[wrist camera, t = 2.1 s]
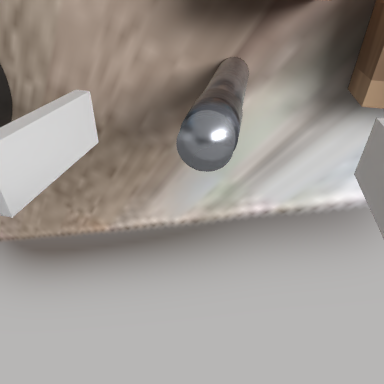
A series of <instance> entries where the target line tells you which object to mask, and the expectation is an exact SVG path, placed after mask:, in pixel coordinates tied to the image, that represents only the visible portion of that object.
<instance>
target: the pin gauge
mask: <svg viewBox="0 0 384 384" xmlns="http://www.w3.org/2000/svg"><path fill="white" fill-rule="evenodd" d="M248 76H249V69H248V66H247V64H246V63H245V61H243V60H242V59H241V58H238V57H230V58H227V59H225V60H224V61H223V62H222V63H221V64H220V66H219V68H218V69H217V71H216V72H215V74H214V76H213V77H212V79H211V81H210V82H209V84H208V86H207V87H206V89H205V91H204V92H203V93H202V94H201V95H200V96H199V97H198V98H197V100H196V101H195V103H194V105H193V106H192V108H191V109H190V111H189V113H188V114H187V116H186V117H185V119H184V121H183V122H182V125H181V128H180V132H179V134H178V136H177V150H178V153H179V155H180V157H181V158H182V160H183V161H184V162H185V163H186V164H187V165H189V166H190V167H192V168H194V169H196V170H199V171H206V172H207V171H215V170H218V169H220V168H222V167H223V166H225V165H226V164H227V163H228V162H229V160H230V159H231V157H232V154H233V151H234V150H235V148H236V145H237V141H238V136H239V131H240V126H241V120H242V106H243V101H244V96H245V91H246V86H247V81H248Z"/></svg>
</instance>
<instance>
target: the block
mask: <svg viewBox="0 0 384 384" xmlns="http://www.w3.org/2000/svg"><path fill="white" fill-rule="evenodd" d="M348 90H349V91H350V93H351V94H352V95H353V96H354V98H355V99H356V100H357V101H358V103H359V104H360V105H361V106H362V107H370V108H382V109H384V0H376V2H375V6H374V9H373V12H372V15H371V18H370V21H369V24H368V27H367V30H366V34H365V37H364V40H363V43H362V46H361V49H360V52H359V55H358V58H357V62H356V65H355V68H354V71H353V74H352V77H351V80H350V83H349V86H348Z"/></svg>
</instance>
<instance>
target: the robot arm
mask: <svg viewBox="0 0 384 384" xmlns="http://www.w3.org/2000/svg"><path fill="white" fill-rule="evenodd" d="M11 117H12V100H11V94H10V90H9V86H8V82H7V79H6V77H5V74H4V72H3V69H2V67H1V65H0V215H1V216H7V217H13V216H15V215H16V214H17V213H18V212H19V211H20V210H21V209H23V208H24V207H25V206H26V205H27V204H28V203H30V202H31V201H32V200H33V199H34V198H35V197H36V196H38V195H39V194H40V193H41V192H42V191H43V190H44V189H46V188H47V187H48V186H49V185H50V184H51V183H52V182H54V181H55V180H56V179H57V178H58V177H59V176H60V175H62V174H63V173H64V172H65V171H66V170H67V169H68V168H70V167H71V166H72V165H73V164H74V163H75V162H77V161H78V160H79V159H80V158H81V157H82V156H83V155H85V154H86V153H87V152H88V151H89V150H90V149H91V148H93V147H94V146H95V145H96V144H97V143H98V136H97V130H96V124H95V118H94V113H93V107H92V101H91V95H90V91H84V90H74V91H72V92H70V93H68V94H66V95H64V96H62V97H60V98H58V99H56V100H54V101H52V102H50V103H48V104H46V105H44V106H42V107H40V108H38V109H36V110H34V111H32V112H30V113H28V114H26V115H24V116H22V117H20V118H18V119H16V120H14V121H12V122H11ZM354 175H355V177H356V179H357V181H358V183H359V186H360V188H361V190H362V192H363V194H364V197H365V199H366V201H367V203H368V205H369V207H370V210H371V212H372V214H373V216H374V219H375V221H376V223H377V225H378V227H379V229H380V232H381V234H382V236H383V238H384V118H376V120H375V123H374V125H373V128H372V131H371V133H370V136H369V138H368V141H367V143H366V146H365V148H364V151H363V153H362V156H361V158H360V161H359V163H358V166H357V168H356V171H355V173H354Z"/></svg>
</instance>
